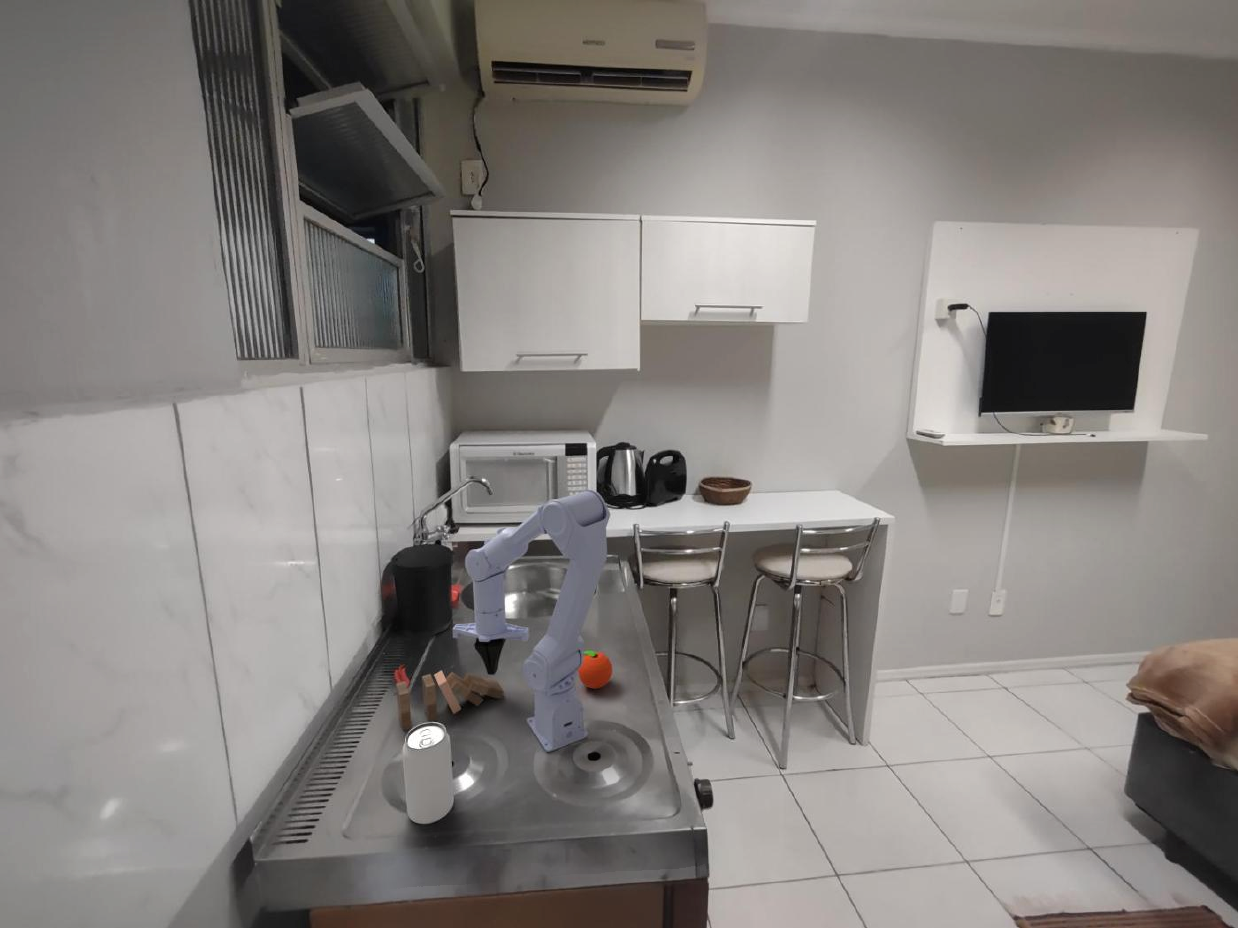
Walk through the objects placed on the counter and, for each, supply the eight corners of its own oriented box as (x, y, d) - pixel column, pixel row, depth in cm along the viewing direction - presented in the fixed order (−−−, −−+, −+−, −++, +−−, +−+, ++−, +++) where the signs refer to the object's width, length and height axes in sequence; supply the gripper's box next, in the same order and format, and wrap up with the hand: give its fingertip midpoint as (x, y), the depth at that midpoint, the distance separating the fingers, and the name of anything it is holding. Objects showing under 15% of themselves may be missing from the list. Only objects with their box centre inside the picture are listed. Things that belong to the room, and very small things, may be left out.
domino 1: (411, 727, 95) (408, 692, 94) (402, 730, 95) (399, 694, 93) (407, 715, 99) (404, 681, 98) (398, 717, 98) (396, 683, 97)
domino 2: (437, 719, 98) (435, 684, 96) (428, 722, 97) (426, 687, 96) (432, 707, 101) (430, 673, 100) (424, 710, 100) (422, 676, 99)
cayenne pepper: (403, 698, 104) (402, 689, 104) (379, 699, 104) (378, 690, 104) (422, 664, 116) (421, 656, 116) (400, 665, 116) (400, 657, 116)
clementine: (567, 685, 108) (566, 653, 107) (589, 670, 114) (589, 639, 112) (597, 700, 103) (597, 666, 102) (619, 683, 109) (619, 651, 108)
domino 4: (483, 699, 102) (457, 682, 99) (477, 706, 101) (451, 688, 98) (477, 688, 105) (451, 671, 102) (471, 695, 105) (446, 678, 102)
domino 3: (461, 709, 100) (446, 680, 97) (453, 713, 99) (438, 685, 97) (455, 697, 103) (441, 670, 101) (448, 702, 103) (434, 674, 100)
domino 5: (504, 691, 104) (473, 682, 100) (500, 698, 104) (469, 690, 100) (497, 681, 107) (467, 672, 104) (493, 688, 107) (463, 679, 103)
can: (408, 832, 74) (402, 756, 72) (406, 798, 80) (400, 726, 78) (456, 817, 77) (452, 742, 74) (451, 785, 82) (447, 715, 80)
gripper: (444, 614, 99) (448, 681, 101) (521, 618, 97) (523, 685, 100) (459, 598, 105) (462, 661, 108) (531, 601, 104) (532, 665, 106)
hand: (492, 671), depth 104 cm, fingers closed
